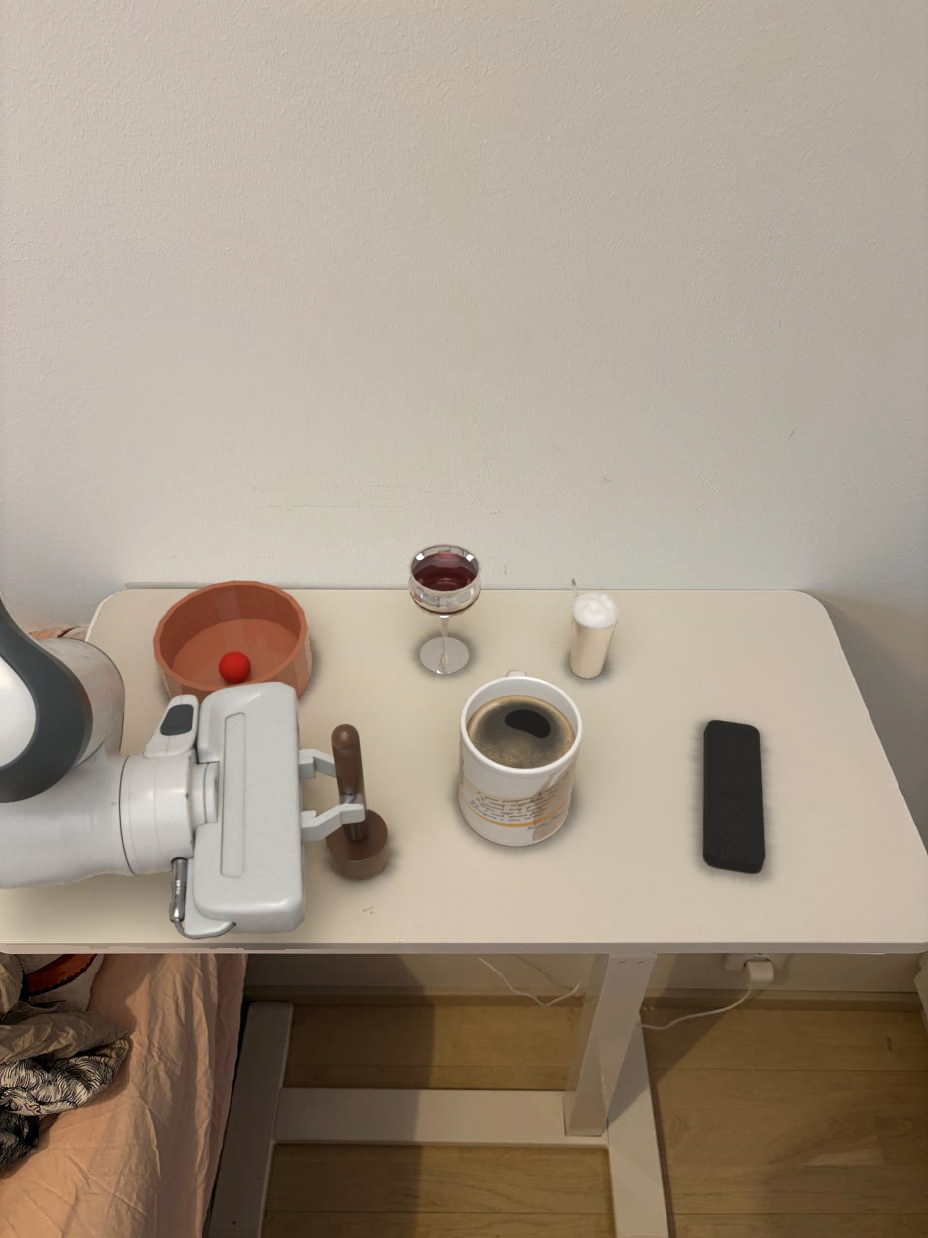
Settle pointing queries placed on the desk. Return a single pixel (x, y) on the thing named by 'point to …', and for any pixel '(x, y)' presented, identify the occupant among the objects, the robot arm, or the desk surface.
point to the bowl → (232, 638)
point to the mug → (518, 759)
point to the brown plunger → (360, 843)
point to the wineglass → (444, 598)
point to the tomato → (234, 667)
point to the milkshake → (591, 631)
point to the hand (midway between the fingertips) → (362, 787)
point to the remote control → (733, 797)
